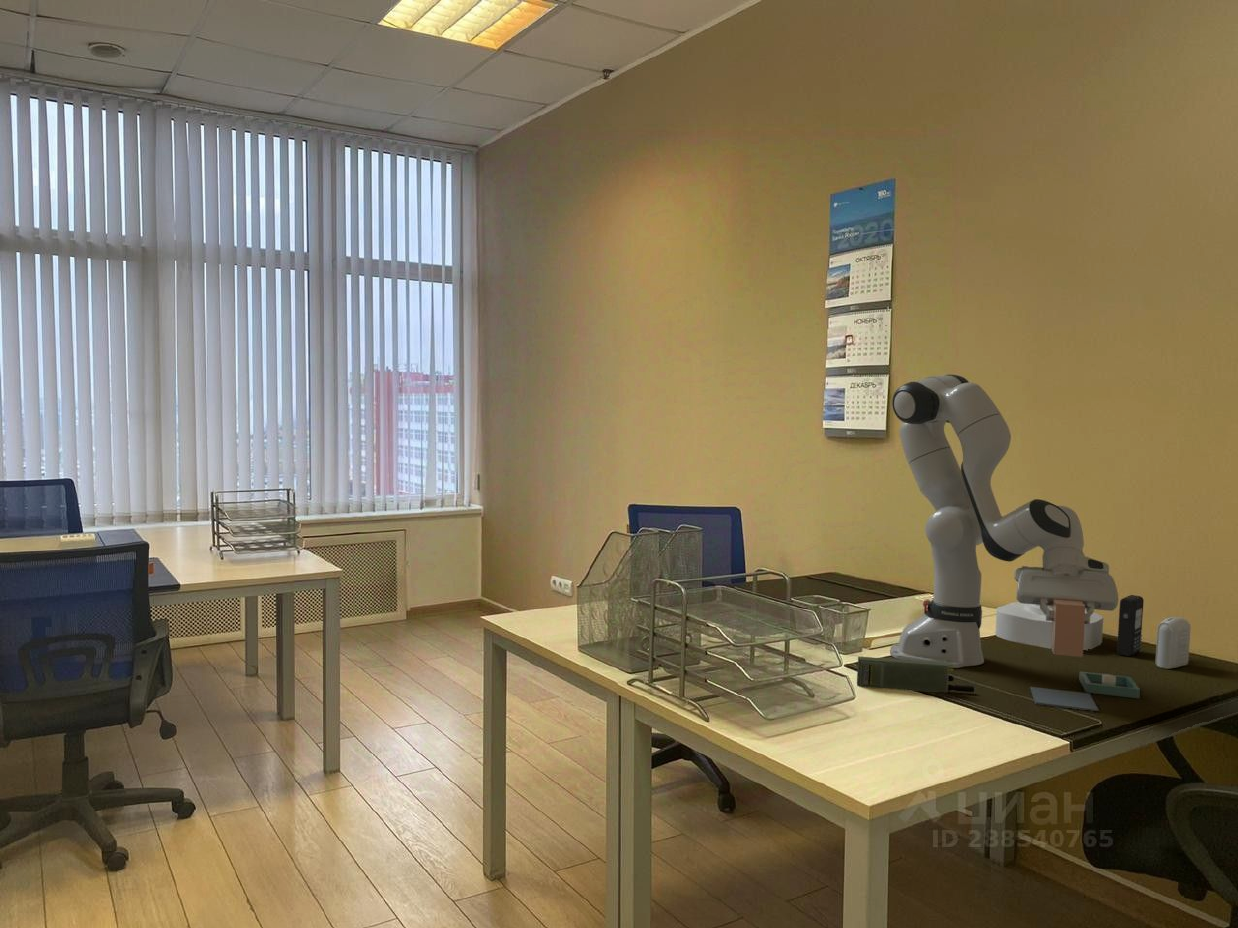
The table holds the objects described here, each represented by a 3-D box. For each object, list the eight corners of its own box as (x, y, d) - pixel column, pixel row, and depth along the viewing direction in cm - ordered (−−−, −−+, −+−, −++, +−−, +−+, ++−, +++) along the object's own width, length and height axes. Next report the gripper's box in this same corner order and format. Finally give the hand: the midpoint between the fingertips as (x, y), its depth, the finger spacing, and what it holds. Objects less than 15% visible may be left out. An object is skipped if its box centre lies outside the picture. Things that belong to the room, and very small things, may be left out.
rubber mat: (1035, 704, 195) (1035, 702, 195) (1030, 688, 206) (1030, 686, 206) (1098, 712, 191) (1098, 709, 191) (1089, 695, 202) (1089, 693, 202)
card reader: (1132, 658, 237) (1136, 600, 236) (1115, 654, 240) (1118, 598, 239) (1142, 652, 243) (1145, 596, 242) (1125, 648, 246) (1129, 593, 245)
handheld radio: (856, 683, 207) (972, 692, 203) (857, 688, 204) (975, 697, 200) (857, 655, 207) (973, 663, 202) (859, 659, 203) (977, 667, 199)
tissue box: (1080, 655, 239) (1083, 594, 238) (985, 636, 256) (988, 580, 255) (1110, 640, 257) (1113, 583, 256) (1019, 624, 274) (1022, 570, 273)
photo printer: (1172, 661, 235) (1175, 613, 234) (1190, 665, 231) (1193, 616, 231) (1152, 666, 229) (1155, 617, 229) (1170, 670, 226) (1173, 621, 225)
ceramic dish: (1086, 692, 205) (1086, 679, 205) (1079, 679, 215) (1079, 667, 215) (1139, 698, 202) (1140, 685, 201) (1129, 685, 212) (1130, 672, 211)
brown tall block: (1053, 654, 196) (1056, 603, 196) (1050, 648, 201) (1053, 598, 201) (1082, 657, 194) (1085, 606, 194) (1079, 651, 200) (1081, 601, 199)
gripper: (1015, 557, 208) (1017, 608, 199) (1116, 564, 201) (1122, 617, 192) (1013, 574, 212) (1014, 624, 204) (1111, 581, 206) (1117, 633, 197)
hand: (1067, 620), depth 198 cm, fingers closed on brown tall block, 6 cm apart
